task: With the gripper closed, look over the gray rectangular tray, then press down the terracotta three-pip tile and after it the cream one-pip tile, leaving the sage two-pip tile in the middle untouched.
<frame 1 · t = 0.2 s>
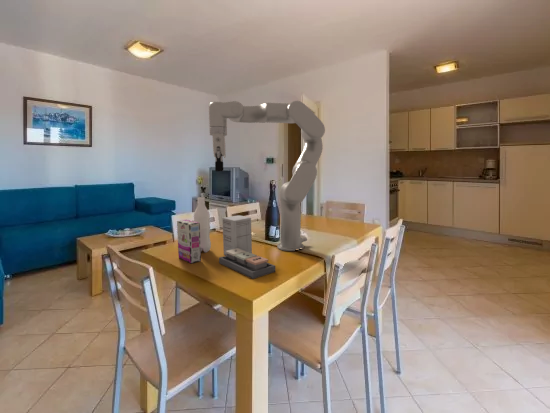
hand: (219, 170, 135), 37 cm above the table, tool pointing down, fingers open, 9 cm apart
tile 3: (256, 262, 112), point 4 cm above the table, slide at 0.0 cm
candy bar box: (189, 259, 128), on the table
gray rectangular tray: (246, 267, 118), on the table
tile 1: (235, 253, 123), point 4 cm above the table, slide at 0.0 cm
tile 2: (245, 257, 118), point 4 cm above the table, slide at 0.0 cm
supplement box: (237, 255, 135), on the table
water bottle: (203, 251, 140), on the table
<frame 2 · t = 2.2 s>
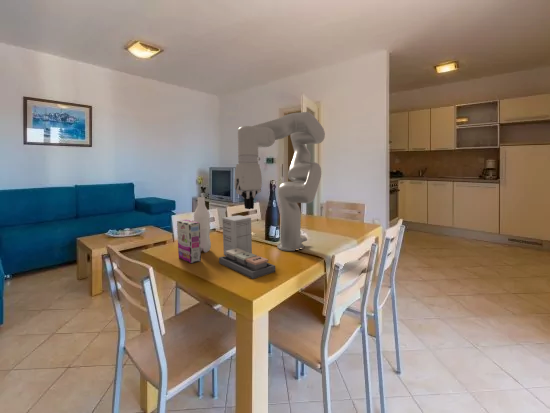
hand: (249, 208, 116), 23 cm above the table, tool pointing down, fingers closed
nothing on the table moved.
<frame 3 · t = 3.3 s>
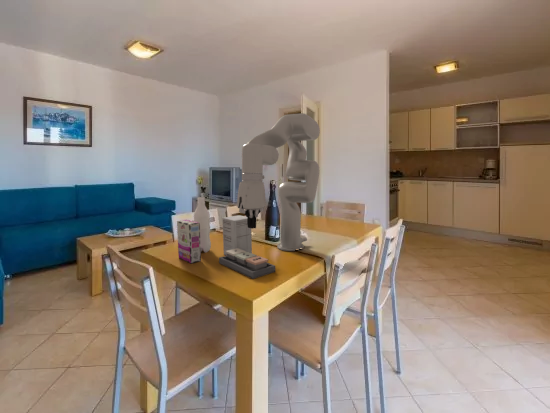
hand: (251, 227, 112), 17 cm above the table, tool pointing down, fingers closed
nothing on the table moved.
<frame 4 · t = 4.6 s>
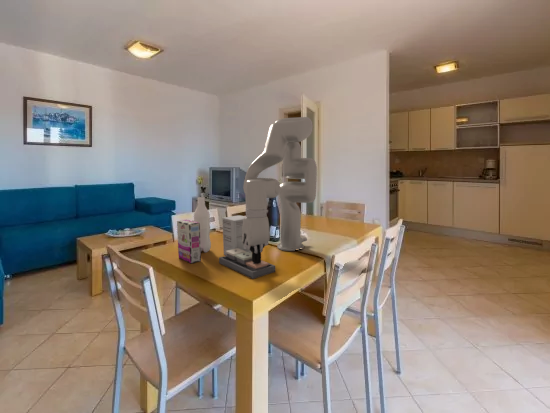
hand: (256, 262, 112), 4 cm above the table, tool pointing down, fingers closed
tile 3: (257, 265, 113), point 2 cm above the table, slide at 1.3 cm, touching gripper
everything else where it was.
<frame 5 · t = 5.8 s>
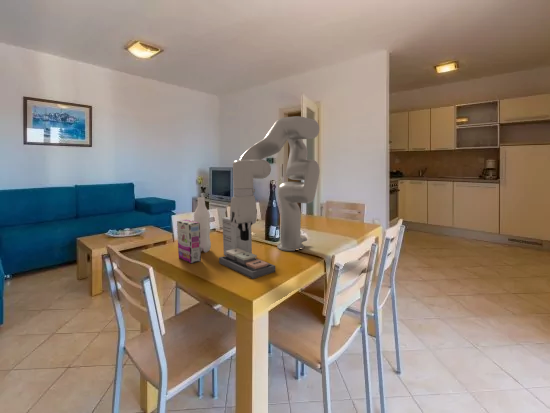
hand: (244, 239, 117), 11 cm above the table, tool pointing down, fingers closed
tile 3: (257, 266, 113), point 2 cm above the table, slide at 1.4 cm
everything else where it was.
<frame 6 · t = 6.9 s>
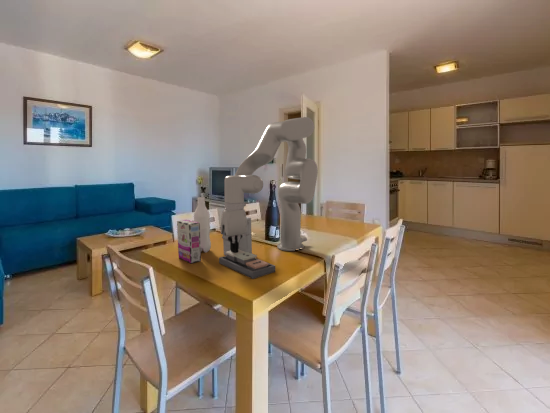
hand: (234, 251, 122), 5 cm above the table, tool pointing down, fingers closed
tile 1: (235, 254, 123), point 3 cm above the table, slide at 0.4 cm, touching gripper
everything else where it was.
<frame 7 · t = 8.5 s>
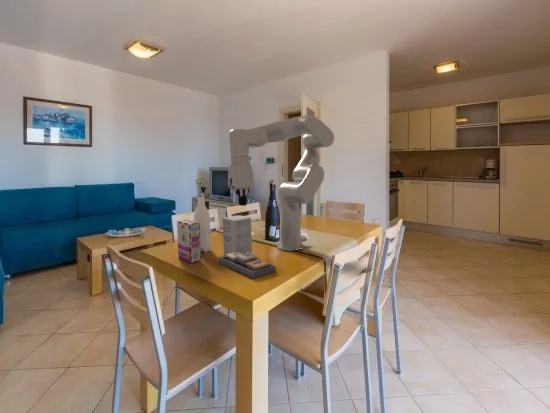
hand: (242, 205, 125), 23 cm above the table, tool pointing down, fingers closed
tile 1: (235, 257, 123), point 2 cm above the table, slide at 1.4 cm
everything else where it was.
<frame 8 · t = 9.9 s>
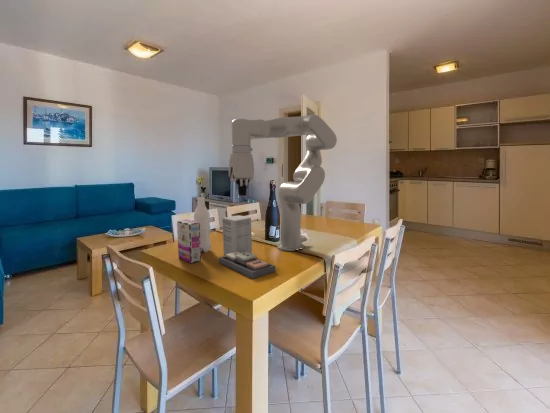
hand: (242, 195, 126), 27 cm above the table, tool pointing down, fingers closed
nothing on the table moved.
at the end: tile 3 slide at 1.4 cm; tile 1 slide at 1.4 cm; tile 2 slide at 0.0 cm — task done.
